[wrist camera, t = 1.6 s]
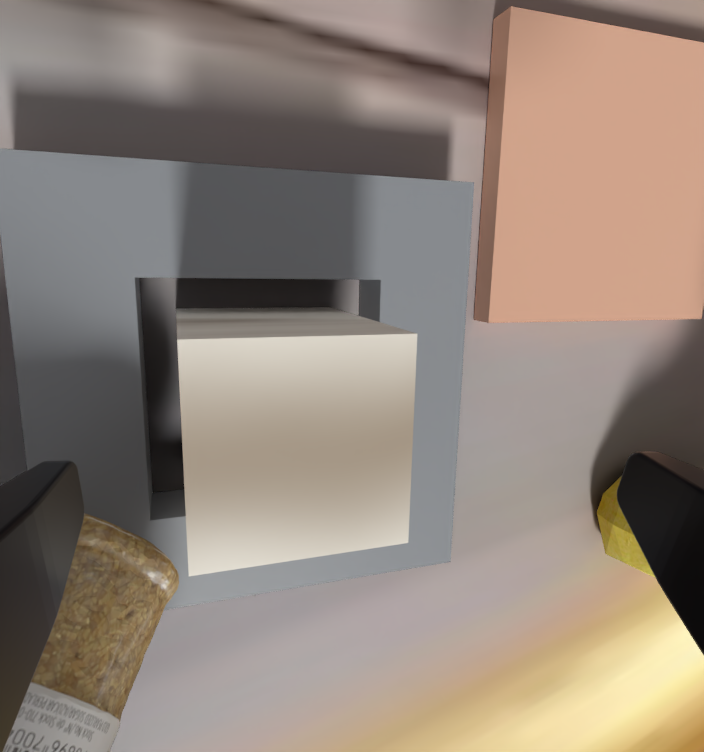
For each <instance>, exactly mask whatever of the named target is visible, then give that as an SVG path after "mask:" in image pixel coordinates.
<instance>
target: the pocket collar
mask: <svg viewBox="0 0 704 752" xmlns="http://www.w3.org/2000/svg"><path fill="white" fill-rule="evenodd" d="M473 192H474V182H460V181H446V180H432V179H418V178H404V177H390V176H376V175H362V174H348V173H334V172H320V171H306V170H292V169H278V168H265V167H251V166H237V165H223V164H209V163H195V162H181V161H167V160H153V159H139V158H125V157H111V156H97V155H83V154H69V153H55V152H41V151H27V150H14V149H0V236H1V245H2V253H3V262H4V271H5V280H6V289H7V298H8V307H9V316H10V324H11V333H12V342H13V351H14V360H15V369H16V378H17V386H18V395H19V404H20V413H21V422H22V431H23V440H24V449H25V457H26V466H27V470H29V469H31V468H33V467H34V466H36V465H38V464H39V463H41V462H44V461H72V462H74V463H75V464H76V466H77V469H78V473H79V479H80V485H81V490H82V496H83V502H84V513H86V514H89V515H92V516H95V517H97V518H100V519H103V520H105V521H108V522H110V523H112V524H115V525H117V526H119V527H121V528H123V529H125V530H128V531H130V532H131V533H133V534H136V535H138V536H140V537H142V538H144V539H146V540H148V541H149V542H151V543H152V544H154V545H155V546H156V547H157V548H158V549H159V550H160V551H162V552H163V553H164V554H165V555H166V556H167V557H168V558H169V559H170V560H171V562H172V563H173V565H174V567H175V568H176V570H177V572H178V575H179V585H178V588H177V591H176V592H175V593H174V595H173V596H172V598H171V599H170V601H169V602H168V603H167V604H166V606H165V608H164V610H168V609H174V608H180V607H186V606H192V605H198V604H203V603H209V602H215V601H221V600H227V599H233V598H239V597H245V596H251V595H257V594H263V593H269V592H275V591H281V590H286V589H292V588H298V587H304V586H310V585H316V584H322V583H328V582H334V581H340V580H346V579H352V578H358V577H363V576H369V575H375V574H381V573H387V572H393V571H399V570H405V569H411V568H417V567H423V566H429V565H435V564H441V563H446V562H450V560H451V544H452V528H453V512H454V496H455V480H456V464H457V448H458V432H459V416H460V400H461V384H462V368H463V352H464V336H465V320H466V304H467V288H468V272H469V256H470V240H471V224H472V208H473ZM139 278H244V279H356V280H360V297H359V316H361V317H364V318H368V319H371V320H374V321H377V322H381V323H384V324H387V325H391V326H394V327H397V328H400V329H404V330H407V331H410V332H413V333H417V355H416V378H415V401H414V423H413V446H412V469H411V492H410V515H409V537H408V543H404V544H398V545H391V546H385V547H378V548H372V549H365V550H359V551H352V552H346V553H339V554H333V555H326V556H320V557H313V558H307V559H300V560H294V561H287V562H280V563H274V564H267V565H261V566H254V567H248V568H241V569H235V570H228V571H222V572H215V573H209V574H202V575H196V576H189V572H188V552H187V531H186V511H185V490H175V491H166V492H156V493H153V490H152V474H151V458H150V442H149V426H148V410H147V393H146V377H145V361H144V345H143V329H142V313H141V297H140V281H139Z"/></svg>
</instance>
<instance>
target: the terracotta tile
mask: <svg viewBox="0 0 704 752" xmlns="http://www.w3.org/2000/svg"><path fill="white" fill-rule="evenodd" d="M703 306H704V43H703V42H698V41H693V40H687V39H682V38H677V37H671V36H666V35H661V34H656V33H650V32H645V31H640V30H634V29H629V28H624V27H619V26H613V25H608V24H603V23H597V22H592V21H587V20H582V19H576V18H571V17H566V16H560V15H555V14H550V13H545V12H539V11H534V10H529V9H523V8H518V7H513V6H511V7H509V8H508V9H507V10H505V11H504V12H503V13H501V14H500V15H499V16H497V17H496V18H495V19H494V20H493V36H492V51H491V66H490V81H489V97H488V112H487V127H486V142H485V158H484V173H483V188H482V203H481V219H480V234H479V249H478V264H477V280H476V295H475V310H474V320H477V321H482V322H487V323H505V322H559V321H614V320H668V319H702V313H703Z"/></svg>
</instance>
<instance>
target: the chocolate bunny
mask: <svg viewBox="0 0 704 752" xmlns="http://www.w3.org/2000/svg"><path fill="white" fill-rule="evenodd" d="M621 477H622V476H621ZM621 477H620V478H619V479H618V480H617V481H616V482H615V483H614V484H613V485H612V486H611V487H610V488H609V489H607V490H606V491H605V492H604V493H603V496H602V499H601V502H600V505H599V507H598V510H597V516H598V521H599V526H600V530H601V535H602V539H603V544H604V548H605V553H606V554H607V555H609V556H611V557H613V558H616V559H618V560H620V561H622V562H624V563H626V564H628V565H630V566H632V567H634V568H636V569H638V570H640V571H642V572H644V573H646V574H648V575H651V576H653V577H655V575H654V574H653V572H652V570H651V568H650V566H649V564H648V562H647V560H646V558H645V556H644V554H643V552H642V550H641V548H640V546H639V544H638V542H637V540H636V538H635V536H634V534H633V532H632V530H631V528H630V526H629V525H628V523H627V521H626V519H625V517H624V515H623V513H622V511H621V509H620V507H619V504H618V501H617V489H618V486H619V483H620V480H621ZM655 578H656V577H655Z"/></svg>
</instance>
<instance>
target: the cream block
mask: <svg viewBox="0 0 704 752" xmlns="http://www.w3.org/2000/svg"><path fill="white" fill-rule="evenodd" d="M176 325H177V347H178V367H179V388H180V408H181V429H182V449H183V470H184V490H185V511H186V531H187V552H188V572H189V576H196V575H202V574H209V573H215V572H222V571H228V570H235V569H241V568H248V567H254V566H261V565H267V564H274V563H280V562H287V561H294V560H300V559H307V558H313V557H320V556H326V555H333V554H339V553H346V552H352V551H359V550H365V549H372V548H378V547H385V546H391V545H398V544H404V543H408V537H409V515H410V492H411V469H412V446H413V423H414V401H415V378H416V355H417V333H413V332H410V331H407V330H404V329H400V328H397V327H394V326H391V325H387V324H384V323H381V322H377V321H374V320H371V319H368V318H364V317H361V316H358V315H355V314H351V313H348V312H345V311H342V310H338V309H335V308H332V307H296V308H176Z"/></svg>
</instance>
